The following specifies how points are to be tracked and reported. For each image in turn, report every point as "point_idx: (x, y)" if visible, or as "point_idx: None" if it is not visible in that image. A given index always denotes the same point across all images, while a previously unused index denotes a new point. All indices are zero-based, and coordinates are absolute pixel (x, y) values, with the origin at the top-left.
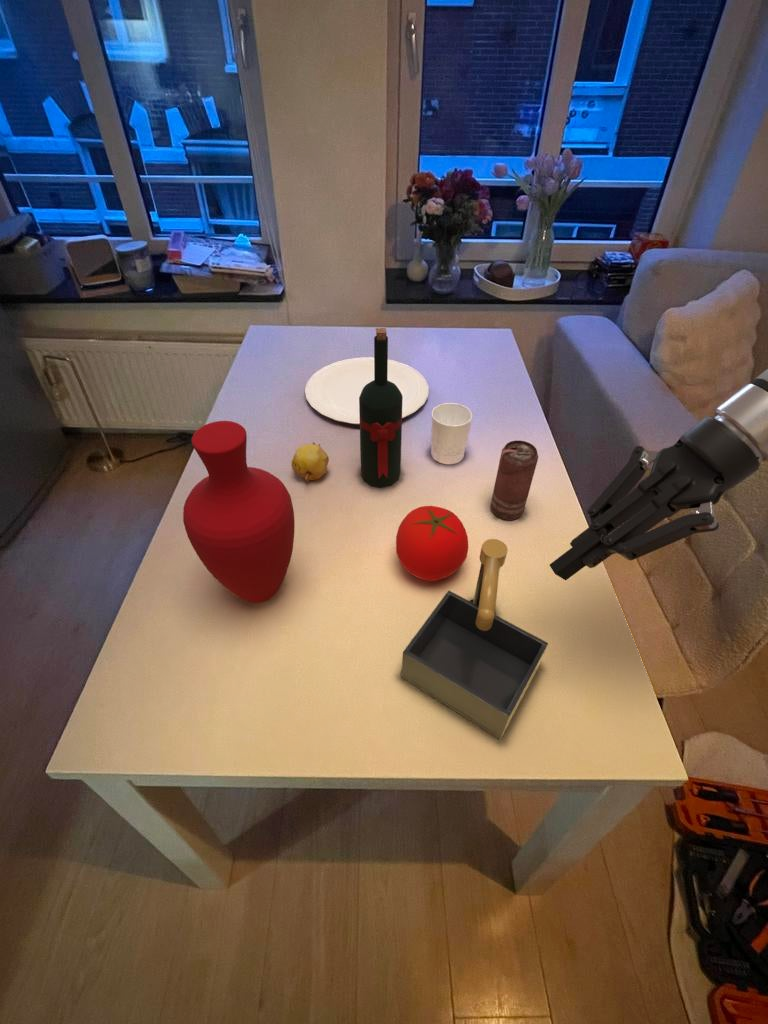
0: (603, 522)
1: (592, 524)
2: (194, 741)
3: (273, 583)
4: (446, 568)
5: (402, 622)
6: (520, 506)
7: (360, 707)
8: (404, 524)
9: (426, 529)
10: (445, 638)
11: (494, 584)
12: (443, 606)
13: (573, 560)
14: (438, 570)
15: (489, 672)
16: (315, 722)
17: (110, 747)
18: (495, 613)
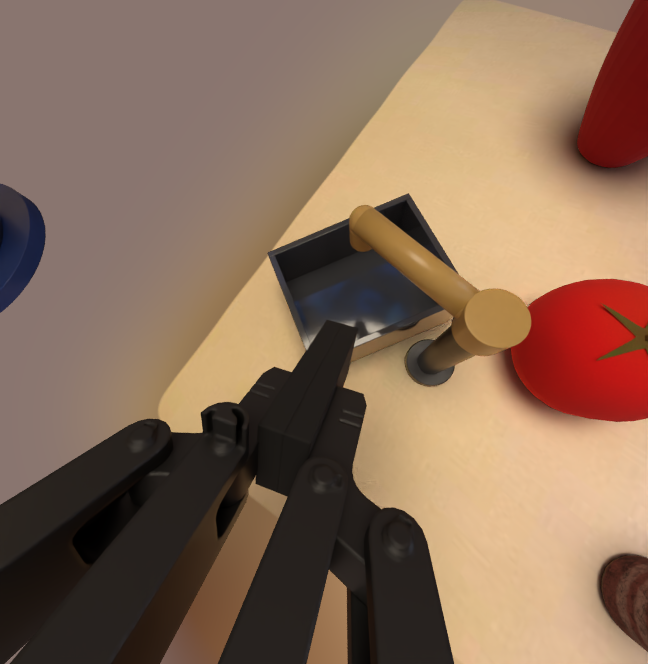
0: (294, 505)
1: (338, 472)
2: (436, 67)
3: (599, 103)
4: None
5: (467, 270)
6: (634, 616)
7: (390, 186)
8: None
9: (631, 311)
10: (416, 297)
11: (406, 257)
12: None
13: (307, 351)
14: None
15: (347, 314)
16: (399, 148)
17: (465, 19)
18: (415, 378)
